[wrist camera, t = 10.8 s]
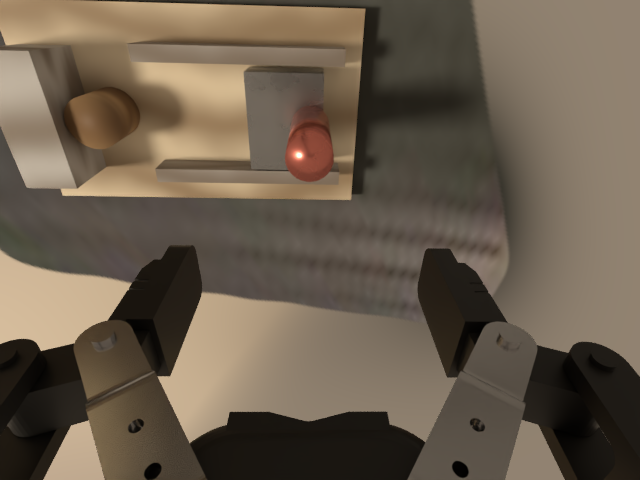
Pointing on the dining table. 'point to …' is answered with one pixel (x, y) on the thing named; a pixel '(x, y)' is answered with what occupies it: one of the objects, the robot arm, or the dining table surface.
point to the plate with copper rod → (288, 121)
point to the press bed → (170, 93)
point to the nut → (102, 117)
